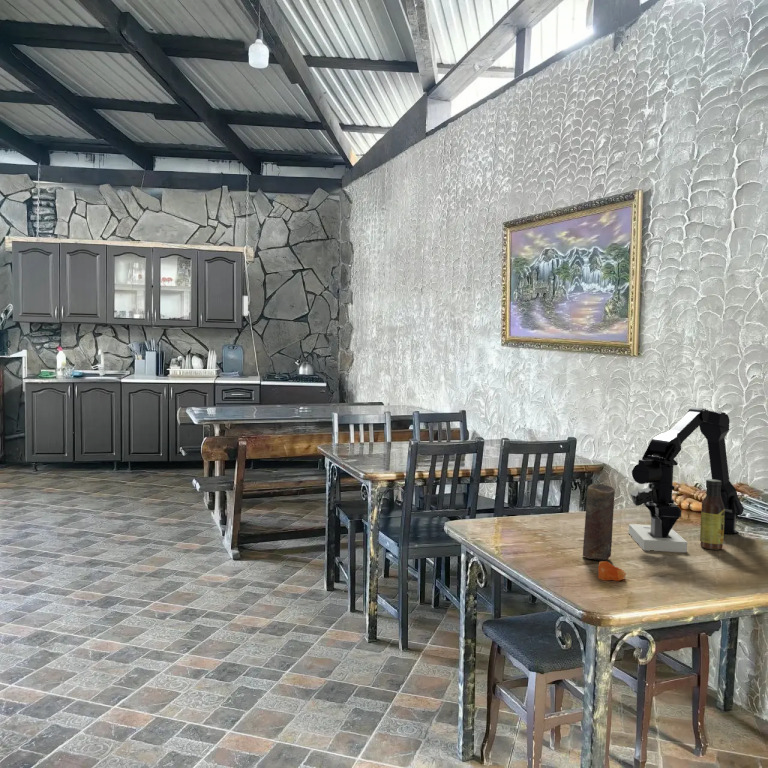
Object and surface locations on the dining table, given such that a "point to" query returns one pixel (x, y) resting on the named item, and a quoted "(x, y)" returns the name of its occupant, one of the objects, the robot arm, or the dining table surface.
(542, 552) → the dining table surface
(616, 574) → the rock
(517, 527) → the dining table surface
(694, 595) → the dining table surface
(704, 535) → the sauce bottle
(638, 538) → the socket plate
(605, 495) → the candle
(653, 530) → the plug
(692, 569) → the dining table surface
